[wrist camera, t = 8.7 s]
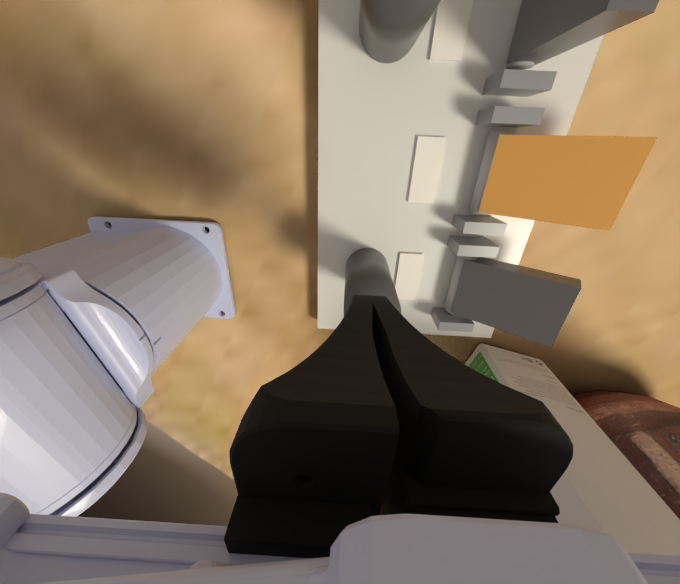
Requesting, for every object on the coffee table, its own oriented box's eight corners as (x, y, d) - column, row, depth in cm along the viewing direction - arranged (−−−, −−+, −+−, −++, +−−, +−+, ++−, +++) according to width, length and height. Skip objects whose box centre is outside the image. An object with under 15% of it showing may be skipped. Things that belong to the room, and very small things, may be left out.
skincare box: (479, 339, 24) (657, 605, 10) (546, 358, 24) (797, 632, 11) (435, 402, 28) (518, 658, 14) (493, 417, 28) (629, 675, 14)
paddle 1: (441, 310, 20) (550, 348, 16) (455, 255, 18) (582, 286, 14) (447, 303, 21) (551, 338, 17) (461, 250, 19) (581, 278, 15)
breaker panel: (319, 320, 23) (307, 384, 17) (321, -136, 12) (288, -451, 6) (484, 329, 23) (535, 398, 17) (644, -125, 12) (983, -440, 6)
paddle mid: (467, 212, 17) (608, 232, 14) (487, 132, 15) (658, 134, 12) (471, 209, 18) (603, 227, 15) (490, 133, 16) (648, 136, 13)
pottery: (557, 344, 24) (970, 751, 8) (726, 389, 25) (1350, 801, 9) (459, 458, 32) (564, 768, 16) (591, 487, 34) (804, 793, 18)
